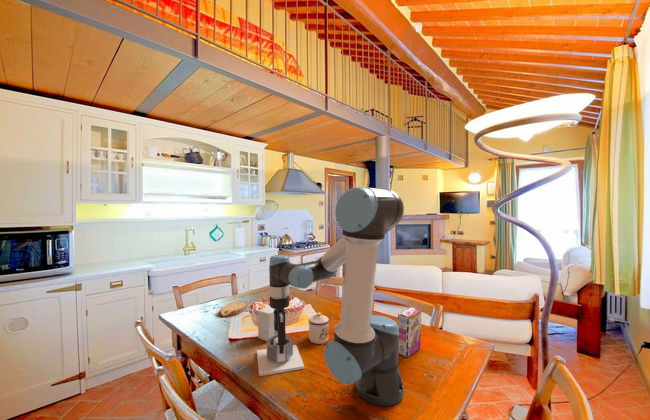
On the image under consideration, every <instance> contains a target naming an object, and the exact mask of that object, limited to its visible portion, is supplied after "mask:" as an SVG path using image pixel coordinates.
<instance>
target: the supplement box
mask: <svg viewBox="0 0 650 420" xmlns="http://www.w3.org/2000/svg"><path fill="white" fill-rule="evenodd" d="M257 328H258V330H257V338H258V339H260V340H262V341H265V342H266V341H267V340H268V339H270V338H271V337H273V336H274V331H276V330H274V309H273V308H271V307H270V305H268V306H266V307H263V308H261V309H259V310H258V311H257Z"/></svg>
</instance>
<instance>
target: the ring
mask: <svg viewBox="0 0 650 420" xmlns="http://www.w3.org/2000/svg"><path fill="white" fill-rule="evenodd" d="M277 337H278V336H273V337H271V338H270V339H268V340H267V341H265V343H266V344H265V345H266V347H265V349H266V354H267V359H269V360H272V361H274V362H277V346H274V339H275V338H277ZM293 345H294V341H293V339H292V337H290V336H289V335H288V336H287V335H286V345H285V360H287V359H289V358H290V357H291V356H292V355H293Z"/></svg>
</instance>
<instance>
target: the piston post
mask: <svg viewBox="0 0 650 420" xmlns="http://www.w3.org/2000/svg"><path fill="white" fill-rule="evenodd" d="M276 343H278V337H277V338H275V339H274V346H277V345H276ZM256 356H257V357H256V358H257V368H258V377H263V376H264V377H265V376H269V375H275V374H281V373H282V374H283V373H286V372H287V373H288V372H294V371H300V370H304V369H305V365H304V362H303V358H302V357H301V354H300V352H299V348H298V346H297V344H293V355H292V356H291V357H290V358H289V359H287V360H285V361H282V362H274V361H272V360H269V359H267V354H266V348H263V349H257V350H256Z"/></svg>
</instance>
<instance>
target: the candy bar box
mask: <svg viewBox="0 0 650 420" xmlns="http://www.w3.org/2000/svg"><path fill="white" fill-rule="evenodd" d="M397 325H398V333H399V347H398V356H401V357H404V358H406V359H408V358H409V357H410V356H412V355H413V354H415V353H416V352H417V351H419V350H420V349H421V336H422V335H421V334H422V333H421V331H422V310H421V309H419V308H415V307H412V306H411V307H409V308H407V309H405V310H402V311H400V312H398V313H397Z"/></svg>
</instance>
